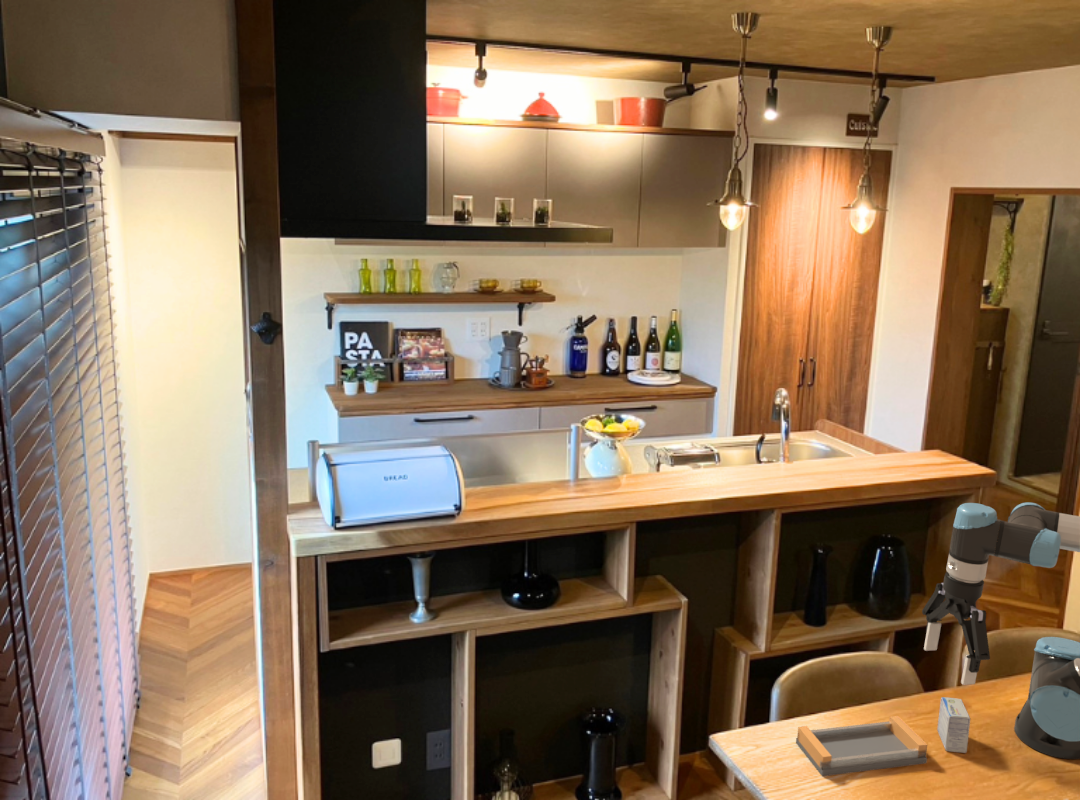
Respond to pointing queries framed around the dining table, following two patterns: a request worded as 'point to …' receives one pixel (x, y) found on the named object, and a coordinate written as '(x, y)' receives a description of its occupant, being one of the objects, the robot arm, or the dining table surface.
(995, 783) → the dining table surface
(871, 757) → the grey shallow tray
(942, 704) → the medicine box
